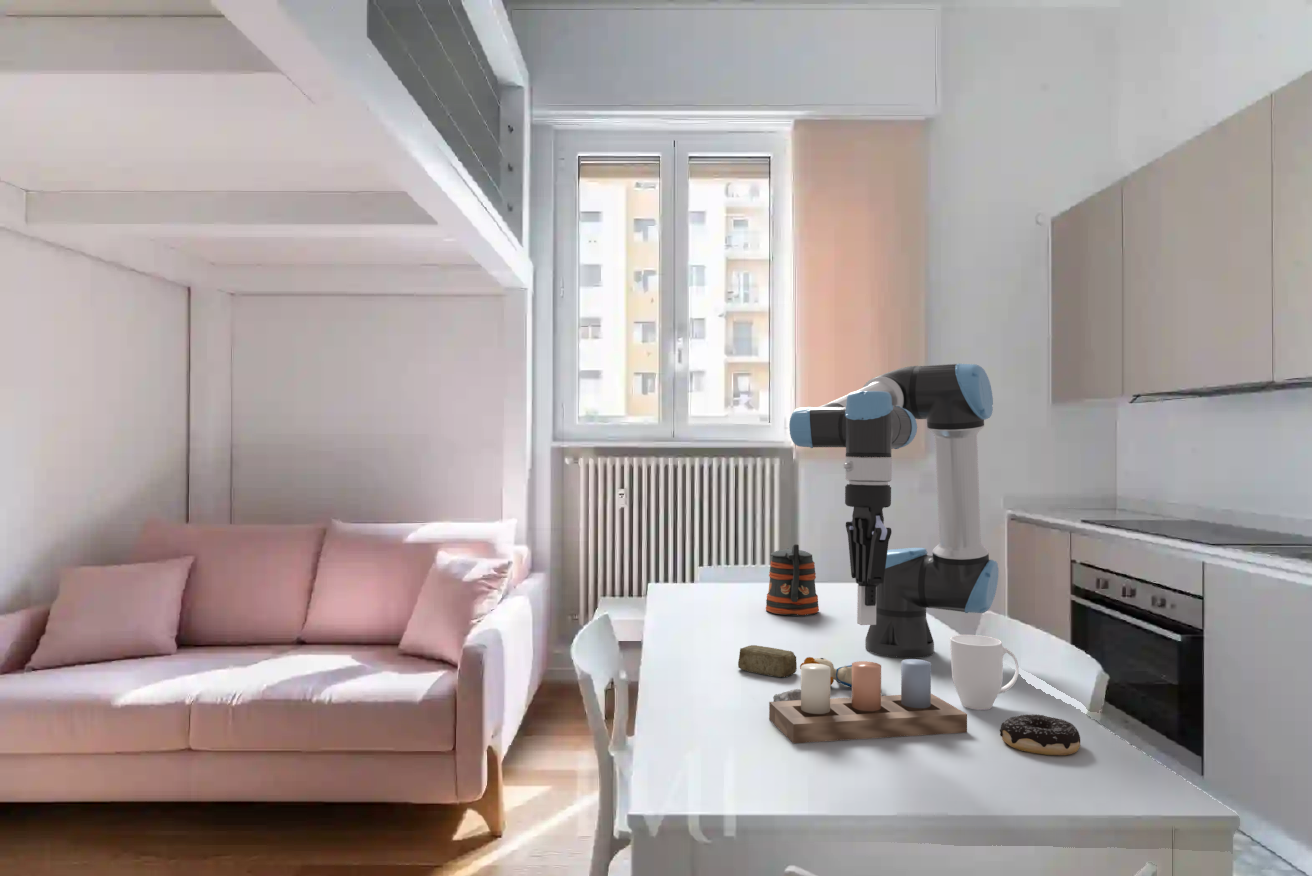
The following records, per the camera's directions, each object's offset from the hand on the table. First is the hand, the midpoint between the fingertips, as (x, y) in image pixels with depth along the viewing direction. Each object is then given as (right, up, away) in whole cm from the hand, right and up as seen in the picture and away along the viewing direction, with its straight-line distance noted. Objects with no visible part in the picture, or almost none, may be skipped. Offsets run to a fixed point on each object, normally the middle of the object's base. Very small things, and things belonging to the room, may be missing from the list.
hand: (866, 623), depth 147 cm
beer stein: (+3, -18, +95) cm, 97 cm away
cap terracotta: (0, -14, 0) cm, 14 cm away
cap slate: (+9, -14, +2) cm, 17 cm away
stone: (-11, -18, +10) cm, 23 cm away
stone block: (-12, -18, +34) cm, 40 cm away
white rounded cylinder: (-9, -14, -2) cm, 17 cm away
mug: (+24, -18, +12) cm, 32 cm away
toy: (0, -18, +23) cm, 29 cm away
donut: (+25, -18, -8) cm, 32 cm away
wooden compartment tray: (0, -17, 0) cm, 17 cm away
